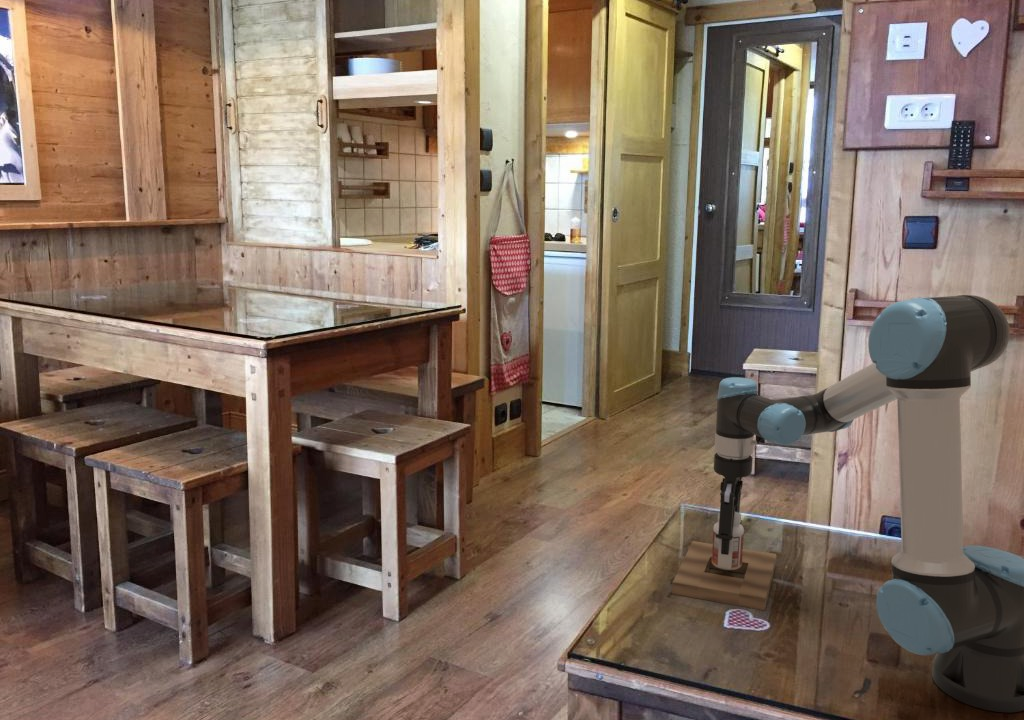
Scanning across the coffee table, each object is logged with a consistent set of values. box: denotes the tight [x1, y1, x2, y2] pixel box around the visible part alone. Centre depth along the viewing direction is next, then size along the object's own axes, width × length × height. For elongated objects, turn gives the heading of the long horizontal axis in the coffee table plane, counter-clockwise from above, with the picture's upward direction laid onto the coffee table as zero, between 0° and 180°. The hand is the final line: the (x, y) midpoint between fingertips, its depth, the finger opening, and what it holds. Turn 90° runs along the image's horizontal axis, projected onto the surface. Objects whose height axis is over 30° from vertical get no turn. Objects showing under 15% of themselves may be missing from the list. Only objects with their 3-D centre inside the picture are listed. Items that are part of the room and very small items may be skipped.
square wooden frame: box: [671, 540, 777, 611], centre depth 182 cm, size 22×18×2 cm
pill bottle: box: [711, 511, 745, 571], centre depth 180 cm, size 6×6×11 cm
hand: (726, 560), depth 181 cm, fingers closed on pill bottle, 6 cm apart
